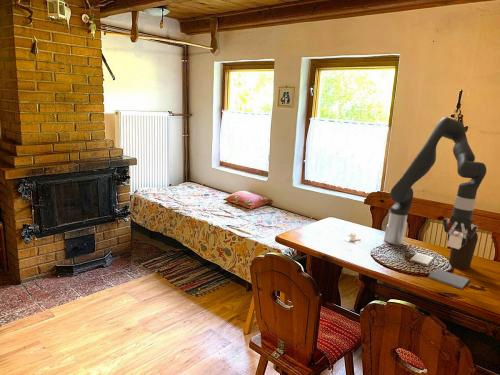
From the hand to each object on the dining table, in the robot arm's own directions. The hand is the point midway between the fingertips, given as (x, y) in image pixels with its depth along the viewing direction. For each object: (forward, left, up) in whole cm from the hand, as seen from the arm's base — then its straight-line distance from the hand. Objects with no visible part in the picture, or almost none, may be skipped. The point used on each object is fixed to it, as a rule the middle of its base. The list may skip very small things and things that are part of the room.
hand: (456, 243), depth 165 cm
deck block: (0, 0, -1) cm, 1 cm away
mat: (0, 0, -17) cm, 17 cm away
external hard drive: (-16, +13, -18) cm, 27 cm away
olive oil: (-1, +22, -18) cm, 28 cm away
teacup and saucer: (-49, +8, -18) cm, 53 cm away
